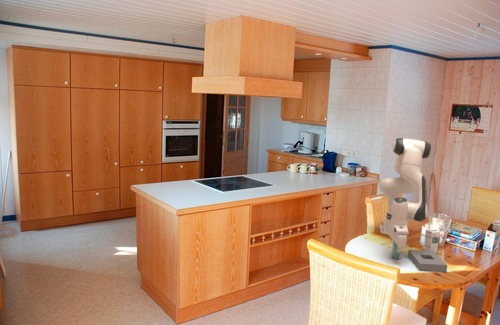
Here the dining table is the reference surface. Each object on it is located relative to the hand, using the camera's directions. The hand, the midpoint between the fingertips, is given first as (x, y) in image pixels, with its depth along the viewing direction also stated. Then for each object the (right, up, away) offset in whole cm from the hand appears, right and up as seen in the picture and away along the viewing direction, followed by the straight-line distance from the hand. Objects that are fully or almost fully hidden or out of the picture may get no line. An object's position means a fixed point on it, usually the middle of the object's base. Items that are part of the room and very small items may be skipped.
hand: (396, 249), depth 224 cm
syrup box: (+24, -5, +9) cm, 26 cm away
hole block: (+14, -7, -6) cm, 17 cm away
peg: (0, -5, +1) cm, 5 cm away
